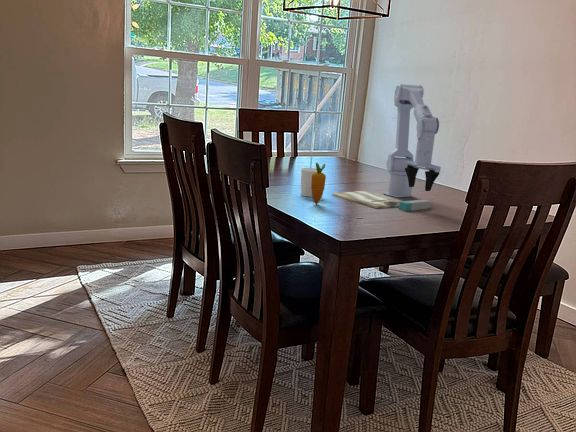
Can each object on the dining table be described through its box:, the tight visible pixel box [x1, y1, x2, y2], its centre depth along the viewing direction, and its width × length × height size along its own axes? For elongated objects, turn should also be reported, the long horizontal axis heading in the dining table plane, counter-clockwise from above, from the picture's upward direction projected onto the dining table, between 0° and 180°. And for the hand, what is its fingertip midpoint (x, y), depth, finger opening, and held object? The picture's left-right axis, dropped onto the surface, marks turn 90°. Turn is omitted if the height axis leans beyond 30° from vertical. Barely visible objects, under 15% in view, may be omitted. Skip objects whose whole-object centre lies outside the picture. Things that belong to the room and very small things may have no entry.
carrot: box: [311, 162, 327, 205], centre depth 187 cm, size 5×5×15 cm
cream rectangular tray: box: [331, 190, 403, 209], centre depth 203 cm, size 18×24×2 cm
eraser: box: [398, 199, 431, 212], centre depth 194 cm, size 14×3×3 cm, turn 126°
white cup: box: [300, 167, 323, 198], centre depth 203 cm, size 8×8×10 cm
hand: (419, 188), depth 193 cm, fingers open, 7 cm apart
